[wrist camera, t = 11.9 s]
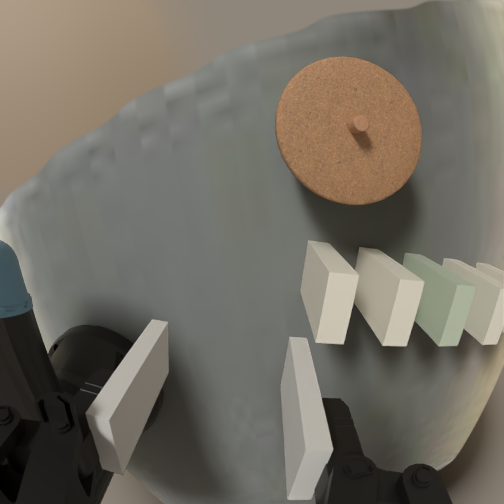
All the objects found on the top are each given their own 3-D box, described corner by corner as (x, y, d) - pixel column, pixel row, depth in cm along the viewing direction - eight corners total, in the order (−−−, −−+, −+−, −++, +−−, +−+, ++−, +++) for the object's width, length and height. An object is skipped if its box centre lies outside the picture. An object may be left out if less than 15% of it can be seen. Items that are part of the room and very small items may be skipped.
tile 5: (466, 304, 30) (516, 342, 21) (476, 262, 29) (533, 291, 20) (477, 305, 30) (527, 341, 21) (488, 264, 29) (544, 292, 20)
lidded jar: (394, 104, 26) (441, 80, 17) (372, 210, 29) (416, 225, 19) (285, 72, 26) (294, 29, 17) (260, 182, 28) (259, 185, 19)
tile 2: (349, 296, 31) (382, 345, 21) (359, 246, 29) (400, 279, 20) (368, 297, 31) (406, 346, 21) (378, 249, 29) (424, 281, 20)
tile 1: (300, 291, 31) (315, 342, 21) (308, 240, 29) (329, 272, 20) (320, 293, 31) (343, 344, 21) (329, 243, 29) (359, 275, 20)
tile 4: (433, 302, 30) (482, 345, 21) (444, 257, 29) (500, 288, 20) (446, 303, 30) (497, 344, 21) (457, 259, 29) (515, 289, 20)
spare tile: (394, 299, 30) (438, 346, 21) (405, 252, 29) (457, 284, 20) (410, 301, 30) (457, 345, 21) (421, 254, 29) (476, 286, 20)
